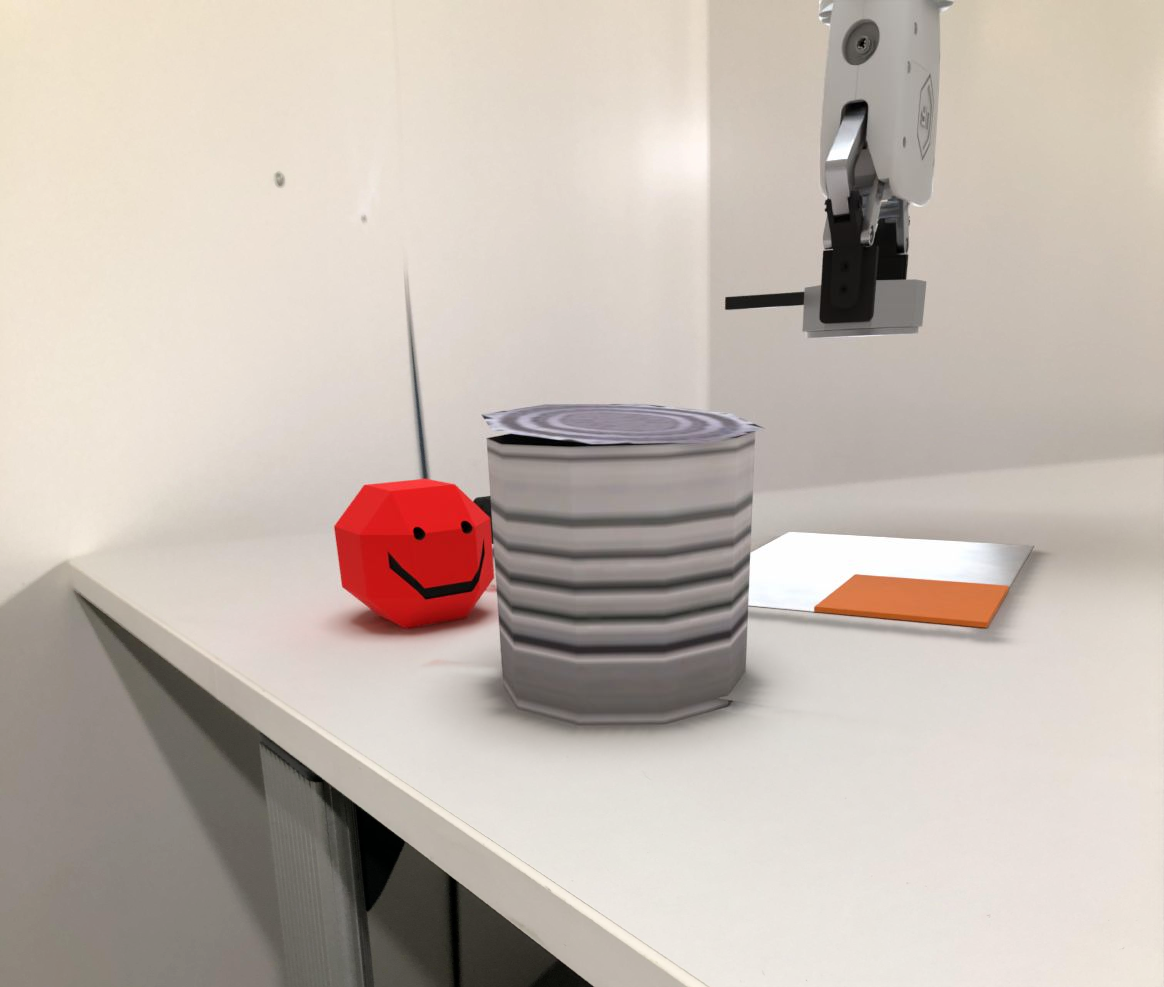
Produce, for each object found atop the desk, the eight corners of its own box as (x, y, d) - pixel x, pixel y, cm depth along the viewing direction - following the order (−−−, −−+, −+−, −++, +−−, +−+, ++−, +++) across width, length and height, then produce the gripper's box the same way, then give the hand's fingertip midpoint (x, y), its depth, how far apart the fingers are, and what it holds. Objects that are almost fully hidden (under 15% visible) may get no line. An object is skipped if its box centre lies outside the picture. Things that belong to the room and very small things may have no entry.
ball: (386, 643, 52) (369, 498, 49) (334, 615, 58) (316, 485, 55) (513, 618, 56) (505, 483, 53) (452, 595, 62) (441, 472, 59)
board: (788, 539, 76) (788, 531, 76) (1033, 553, 68) (1034, 545, 68) (665, 607, 57) (665, 597, 57) (985, 639, 49) (987, 628, 49)
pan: (928, 333, 63) (933, 282, 62) (904, 333, 57) (909, 277, 56) (744, 341, 69) (745, 295, 68) (707, 342, 63) (707, 292, 62)
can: (694, 640, 51) (698, 397, 46) (791, 708, 40) (809, 406, 36) (481, 662, 48) (462, 408, 43) (528, 742, 38) (510, 421, 33)
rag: (854, 578, 60) (855, 574, 60) (1008, 590, 56) (1009, 585, 56) (813, 611, 53) (814, 606, 53) (986, 628, 49) (987, 622, 49)
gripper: (924, -92, 46) (889, 318, 53) (982, 5, 59) (948, 321, 67) (773, -55, 49) (760, 325, 56) (861, 29, 63) (841, 326, 70)
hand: (862, 320), depth 61 cm, fingers closed on pan, 7 cm apart
